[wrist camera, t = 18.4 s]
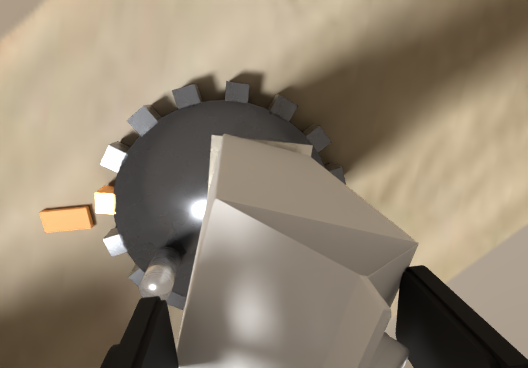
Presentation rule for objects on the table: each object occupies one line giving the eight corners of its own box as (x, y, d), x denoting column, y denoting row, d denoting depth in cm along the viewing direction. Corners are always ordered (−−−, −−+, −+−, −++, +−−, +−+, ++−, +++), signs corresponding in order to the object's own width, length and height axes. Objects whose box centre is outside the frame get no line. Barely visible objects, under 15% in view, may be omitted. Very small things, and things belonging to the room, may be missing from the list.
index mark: (88, 206, 27) (85, 208, 27) (93, 226, 28) (91, 228, 27) (42, 210, 27) (39, 212, 27) (48, 230, 28) (45, 232, 27)
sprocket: (379, 215, 30) (416, 246, 24) (215, 336, 33) (211, 392, 26) (242, 24, 24) (246, 1, 18) (50, 191, 26) (-4, 220, 20)
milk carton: (203, 215, 25) (135, 542, 7) (223, 132, 23) (202, 278, 5) (284, 232, 26) (406, 544, 8) (309, 154, 24) (537, 334, 6)
